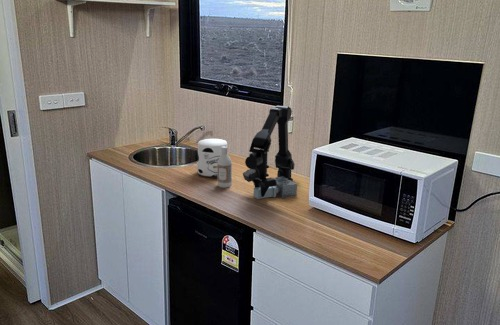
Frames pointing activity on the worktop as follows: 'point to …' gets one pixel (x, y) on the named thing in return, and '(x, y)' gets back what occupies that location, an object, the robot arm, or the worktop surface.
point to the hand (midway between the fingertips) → (260, 195)
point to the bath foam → (224, 169)
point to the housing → (286, 187)
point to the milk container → (209, 156)
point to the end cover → (269, 193)
